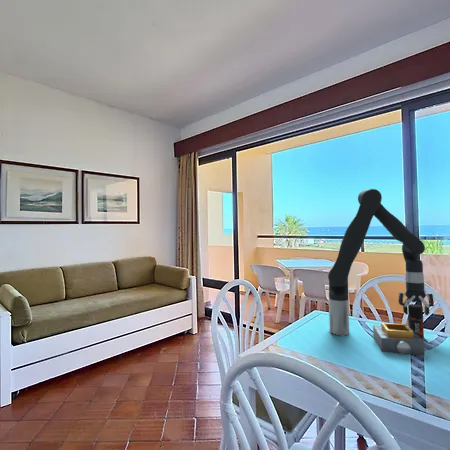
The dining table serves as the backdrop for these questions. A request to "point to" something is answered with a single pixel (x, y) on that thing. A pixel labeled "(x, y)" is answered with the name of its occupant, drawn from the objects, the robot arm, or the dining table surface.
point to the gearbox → (398, 339)
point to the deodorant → (416, 319)
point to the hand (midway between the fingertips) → (416, 314)
